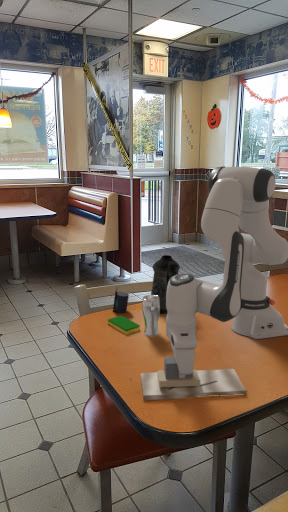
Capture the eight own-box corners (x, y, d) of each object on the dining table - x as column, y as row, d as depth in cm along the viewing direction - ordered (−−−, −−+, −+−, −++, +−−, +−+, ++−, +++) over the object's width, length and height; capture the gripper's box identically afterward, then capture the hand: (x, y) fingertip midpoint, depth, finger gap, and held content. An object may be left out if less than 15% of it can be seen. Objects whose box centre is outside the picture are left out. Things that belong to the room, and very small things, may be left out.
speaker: (108, 311, 176) (110, 289, 173) (114, 307, 181) (116, 286, 178) (123, 315, 173) (125, 293, 170) (128, 311, 178) (131, 290, 176)
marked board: (233, 373, 124) (233, 368, 124) (245, 395, 113) (245, 390, 112) (140, 377, 122) (140, 372, 122) (143, 400, 111) (143, 395, 110)
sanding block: (195, 374, 120) (196, 354, 118) (199, 385, 114) (200, 364, 112) (157, 376, 119) (157, 355, 118) (159, 387, 113) (159, 365, 112)
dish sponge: (121, 320, 167) (121, 315, 167) (140, 330, 157) (140, 325, 156) (107, 324, 163) (107, 319, 163) (126, 335, 153) (125, 330, 152)
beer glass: (158, 337, 150) (158, 301, 146) (141, 336, 151) (140, 300, 148) (161, 329, 156) (161, 295, 153) (144, 328, 158) (144, 294, 154)
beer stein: (165, 299, 191) (165, 250, 185) (196, 309, 177) (197, 257, 171) (141, 307, 180) (140, 256, 174) (171, 319, 166) (171, 263, 160)
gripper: (165, 316, 122) (165, 355, 126) (175, 345, 103) (174, 391, 106) (185, 315, 123) (184, 354, 126) (198, 344, 103) (197, 390, 106)
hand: (180, 371), depth 116 cm, fingers closed on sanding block, 4 cm apart
